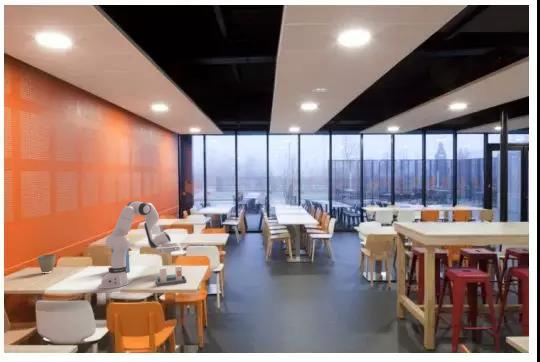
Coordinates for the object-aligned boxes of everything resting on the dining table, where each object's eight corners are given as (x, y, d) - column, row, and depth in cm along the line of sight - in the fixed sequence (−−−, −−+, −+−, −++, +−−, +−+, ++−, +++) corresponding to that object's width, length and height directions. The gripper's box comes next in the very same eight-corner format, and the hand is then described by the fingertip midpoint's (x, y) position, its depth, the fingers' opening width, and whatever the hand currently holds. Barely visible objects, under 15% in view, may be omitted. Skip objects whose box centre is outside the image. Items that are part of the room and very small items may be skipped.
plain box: (160, 284, 302) (160, 268, 302) (160, 282, 307) (159, 267, 306) (166, 283, 304) (166, 268, 304) (166, 281, 308) (165, 267, 308)
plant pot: (50, 274, 349) (49, 257, 349) (34, 275, 349) (33, 257, 349) (60, 270, 364) (59, 253, 364) (44, 271, 364) (43, 254, 364)
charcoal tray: (157, 286, 297) (157, 283, 297) (156, 282, 310) (156, 279, 310) (186, 282, 304) (186, 279, 304) (184, 278, 318) (184, 275, 318)
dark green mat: (158, 280, 314) (158, 280, 314) (157, 276, 327) (157, 276, 327) (178, 278, 319) (178, 277, 319) (176, 274, 332) (176, 274, 332)
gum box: (129, 271, 349) (128, 246, 349) (125, 273, 345) (124, 247, 344) (116, 269, 360) (115, 245, 360) (111, 270, 356) (110, 246, 355)
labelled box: (176, 282, 306) (175, 267, 306) (175, 280, 311) (175, 265, 311) (182, 281, 308) (181, 266, 308) (181, 280, 312) (180, 265, 312)
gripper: (155, 245, 337) (156, 248, 324) (179, 243, 344) (180, 245, 331) (155, 252, 337) (156, 255, 324) (179, 250, 344) (181, 253, 331)
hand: (169, 250), depth 327 cm, fingers open, 8 cm apart
